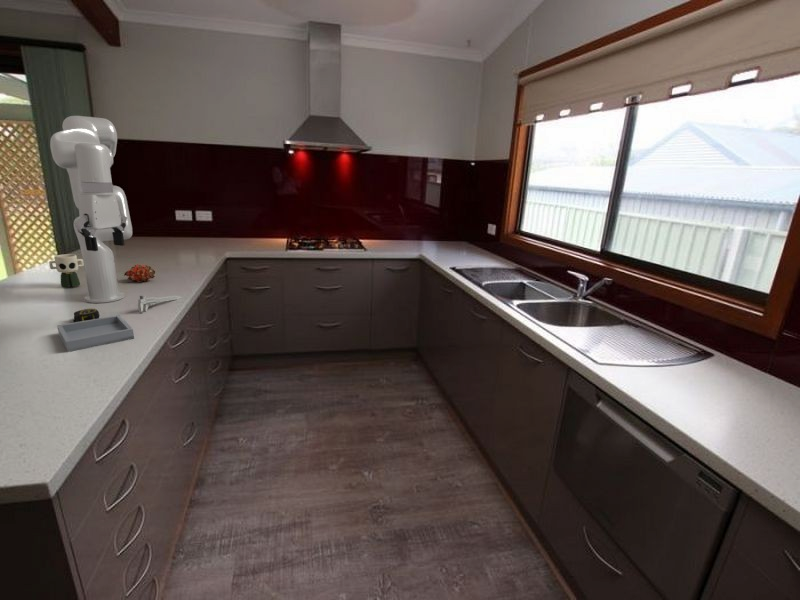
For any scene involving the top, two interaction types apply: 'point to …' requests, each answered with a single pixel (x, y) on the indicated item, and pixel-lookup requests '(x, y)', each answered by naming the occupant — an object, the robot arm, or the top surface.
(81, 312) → the tape measure
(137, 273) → the dragon fruit
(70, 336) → the parts tray
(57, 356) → the top surface
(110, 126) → the robot arm
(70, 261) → the character mug
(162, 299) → the caliper
